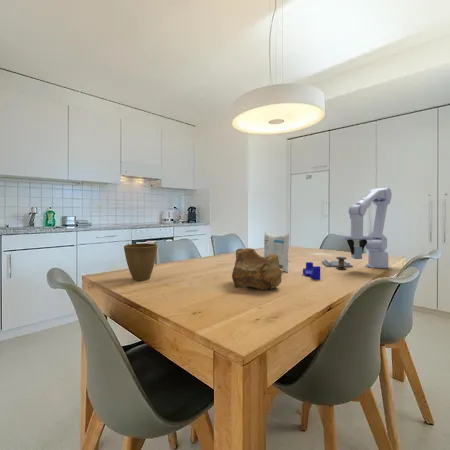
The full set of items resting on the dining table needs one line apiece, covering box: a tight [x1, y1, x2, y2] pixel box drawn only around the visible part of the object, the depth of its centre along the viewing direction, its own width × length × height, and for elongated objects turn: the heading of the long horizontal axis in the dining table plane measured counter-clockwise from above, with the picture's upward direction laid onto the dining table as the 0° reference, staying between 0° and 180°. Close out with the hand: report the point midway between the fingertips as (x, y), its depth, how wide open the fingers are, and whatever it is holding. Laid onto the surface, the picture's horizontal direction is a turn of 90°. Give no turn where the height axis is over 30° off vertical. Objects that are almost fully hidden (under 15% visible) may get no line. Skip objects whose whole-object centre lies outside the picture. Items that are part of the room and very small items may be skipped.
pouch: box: [263, 231, 290, 274], centre depth 150 cm, size 8×19×20 cm, turn 28°
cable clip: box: [302, 261, 321, 281], centre depth 133 cm, size 12×4×6 cm, turn 0°
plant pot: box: [123, 242, 158, 282], centre depth 130 cm, size 15×15×16 cm
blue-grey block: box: [350, 245, 363, 260], centre depth 144 cm, size 4×6×6 cm, turn 170°
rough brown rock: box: [231, 247, 282, 291], centre depth 116 cm, size 23×17×15 cm
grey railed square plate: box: [321, 258, 354, 268], centre depth 163 cm, size 14×14×2 cm
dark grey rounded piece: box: [335, 256, 347, 271], centre depth 152 cm, size 5×5×6 cm
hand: (356, 254), depth 144 cm, fingers closed on blue-grey block, 3 cm apart
